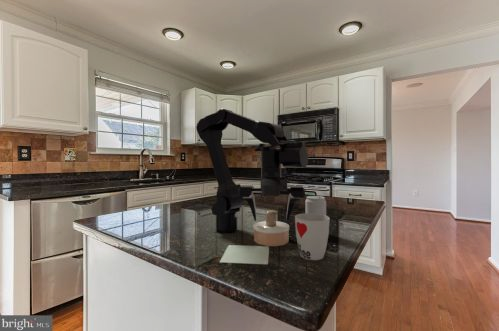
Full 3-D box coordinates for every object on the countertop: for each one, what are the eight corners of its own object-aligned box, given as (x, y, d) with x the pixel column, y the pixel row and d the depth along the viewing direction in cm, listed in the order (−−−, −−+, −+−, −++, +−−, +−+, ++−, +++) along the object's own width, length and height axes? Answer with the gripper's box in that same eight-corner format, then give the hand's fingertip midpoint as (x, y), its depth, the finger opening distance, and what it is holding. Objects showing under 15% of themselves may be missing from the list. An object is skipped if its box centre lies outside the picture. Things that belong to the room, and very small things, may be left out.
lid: (251, 233, 65) (251, 215, 65) (254, 223, 76) (254, 207, 76) (290, 234, 64) (290, 216, 64) (288, 223, 75) (288, 208, 74)
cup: (291, 252, 62) (291, 213, 62) (321, 250, 63) (321, 212, 63) (300, 265, 54) (300, 221, 54) (335, 264, 55) (335, 220, 55)
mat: (219, 264, 55) (219, 262, 55) (228, 247, 66) (228, 245, 66) (267, 266, 54) (267, 264, 54) (269, 248, 65) (269, 246, 65)
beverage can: (327, 238, 73) (327, 198, 73) (305, 236, 75) (305, 198, 74) (325, 231, 79) (325, 195, 79) (305, 230, 81) (305, 195, 80)
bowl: (253, 247, 66) (252, 232, 66) (255, 236, 75) (255, 223, 75) (289, 248, 65) (289, 233, 65) (287, 236, 74) (287, 224, 74)
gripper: (234, 168, 63) (234, 228, 63) (307, 168, 61) (307, 229, 61) (240, 166, 74) (240, 217, 74) (302, 166, 72) (302, 219, 72)
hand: (271, 220), depth 70 cm, fingers open, 9 cm apart
